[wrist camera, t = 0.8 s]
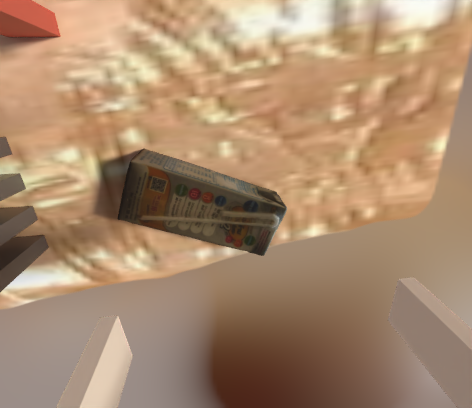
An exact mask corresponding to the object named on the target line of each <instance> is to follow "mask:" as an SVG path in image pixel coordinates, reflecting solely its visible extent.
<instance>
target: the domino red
mask: <svg viewBox="0 0 472 408" xmlns="http://www.w3.org/2000/svg"><path fill="white" fill-rule="evenodd" d="M0 35H4V36H7V37H60V33H59V29H58V25H57V22H56V18H55V14H54V13H53V12H52V11H50V10H48V9H46V8H44V7H43V6H41V5H39V4H37V3H36V2H34V1H32V0H0Z"/></svg>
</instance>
